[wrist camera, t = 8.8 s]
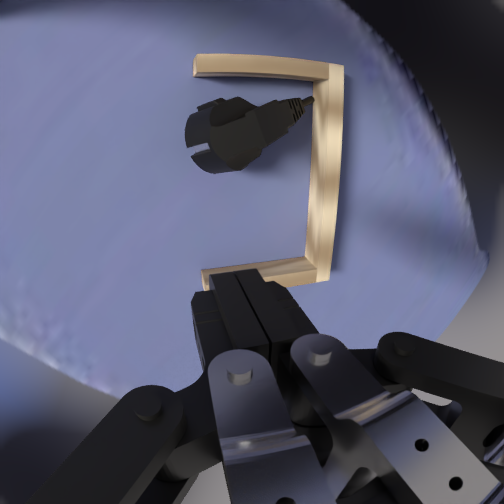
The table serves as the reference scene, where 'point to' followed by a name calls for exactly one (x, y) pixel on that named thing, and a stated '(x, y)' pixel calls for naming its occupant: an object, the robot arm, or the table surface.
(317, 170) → the bracket
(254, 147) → the power plug
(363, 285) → the table surface
